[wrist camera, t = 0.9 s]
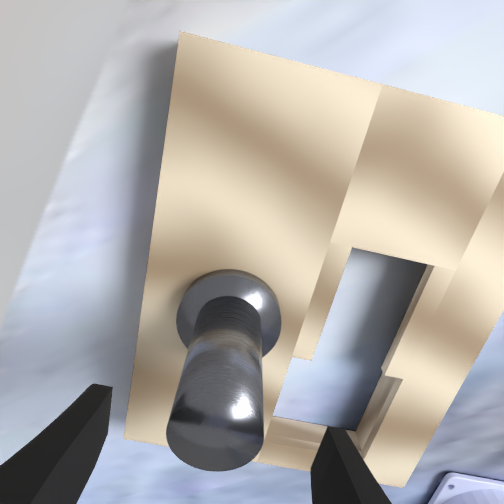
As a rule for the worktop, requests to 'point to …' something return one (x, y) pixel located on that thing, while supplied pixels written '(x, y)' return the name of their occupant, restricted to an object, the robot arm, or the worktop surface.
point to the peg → (222, 369)
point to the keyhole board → (323, 234)
